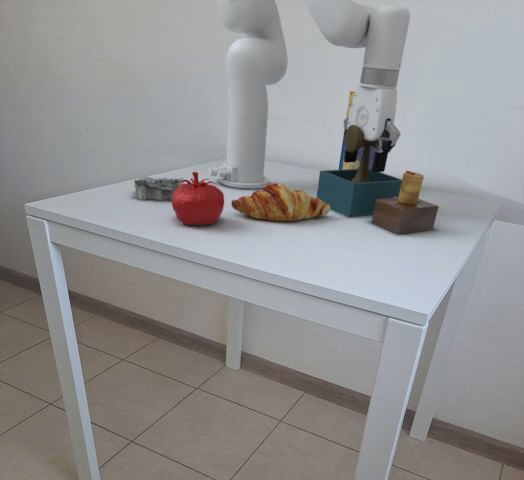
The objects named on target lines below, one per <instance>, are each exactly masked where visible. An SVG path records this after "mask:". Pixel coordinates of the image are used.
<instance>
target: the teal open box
mask: <svg viewBox="0 0 524 480" xmlns="http://www.w3.org/2000/svg"><path fill="white" fill-rule="evenodd" d="M357 171H358V169H347V170H338V169H327V170H326V169H325V170H319V175H318V182H317V183H318V184H317V190H316V198H319V199H320V200H322V201H323V202H324V203H325V204H329V205H330V210H333V211H336V212H338V213H340V214H342V215H344V216H346V217H348V218H352V217H362V216H373V213H374V208H375V202H376V199H382V198H393V196H395V197H399V192H400V187H401V183H402V178H398V177H396V176H393V175H390V174H386V173H384V172H372V169H369V179H370V181H371V182H364V183H354V182H351V180H352V179H353V178H354V177H355V176H356V174H357Z"/></svg>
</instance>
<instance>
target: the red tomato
mask: <svg viewBox="0 0 524 480" xmlns="http://www.w3.org/2000/svg"><path fill="white" fill-rule="evenodd" d="M191 173H192V176H193V177H190V178H189V180H188V179H183V180H182V181H180V180H179V181H180V182H183V184H182V185H180V186H178V187H177V189H176V190H175V191H174V193H173V196H172V200H171V206H172V210H173V211H174V213H175V216H176V218H177V220H178V221H179V222H180V223H181V224H184V225H189V226H202V225H203V226H205V225H212V224H214V223H215V222H217V221H218V220H219V219H220V217H221V215H222V213H223V211H224V207H225V194H224V192H223V191H222V190H221V189H220V188H219V187H217V186H216V183H215V182H213V181H210V179H208V178H204V179H201V180H200V181H199V172H197V171H192V172H191Z"/></svg>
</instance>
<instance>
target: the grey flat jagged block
mask: <svg viewBox="0 0 524 480" xmlns="http://www.w3.org/2000/svg"><path fill="white" fill-rule="evenodd" d="M179 180H180V181H182V180H184V177H180V178H176V177H175V178H167V177H164V178H153V177H149V176H142V177H140V178H138V179H135V180H134V190H135V198H136V199H139V200H144V201H146V200H150V199H151V200H156V201H164V200H169V201H172V196H173V193H174V191H175V190H176V189H177V187H178V186H180V185H182V184H184V182H180V181H179Z"/></svg>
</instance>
